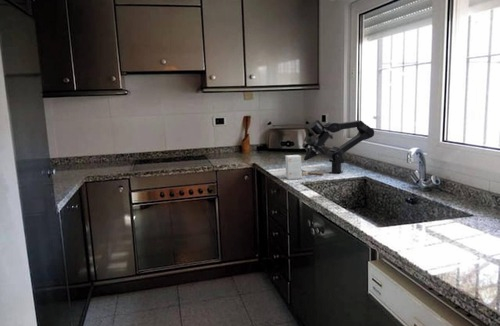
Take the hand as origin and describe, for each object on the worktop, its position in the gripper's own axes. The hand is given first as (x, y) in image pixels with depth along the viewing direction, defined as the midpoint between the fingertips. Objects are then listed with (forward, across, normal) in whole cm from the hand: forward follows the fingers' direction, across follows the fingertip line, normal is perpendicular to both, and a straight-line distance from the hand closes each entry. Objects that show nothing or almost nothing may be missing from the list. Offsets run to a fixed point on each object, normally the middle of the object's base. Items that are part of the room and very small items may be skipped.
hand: (304, 160), depth 216 cm
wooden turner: (+4, -4, +10) cm, 12 cm away
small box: (+12, 0, +2) cm, 12 cm away
